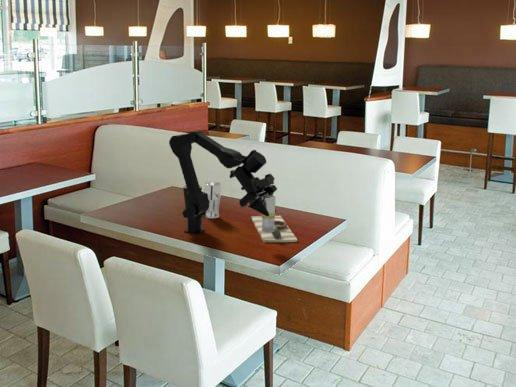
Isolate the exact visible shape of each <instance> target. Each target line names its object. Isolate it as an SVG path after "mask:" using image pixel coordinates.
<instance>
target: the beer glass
mask: <svg viewBox="0 0 516 387" xmlns="http://www.w3.org/2000/svg"><path fill="white" fill-rule="evenodd" d="M221 187H222V186H221V182H218V181H207V182H205V184H204V193H207V195H208V199H209V201H210V203H209V208H208V210H207V211H206V214H205V215H204V216H205V218H206V219H209V220H210V219H211V220H216V219H219V218H220V212H219V208H220V207H219V206H220V202H221V193H222V190H221Z"/></svg>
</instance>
